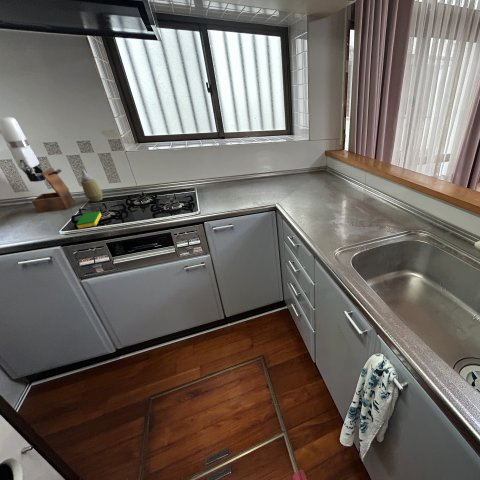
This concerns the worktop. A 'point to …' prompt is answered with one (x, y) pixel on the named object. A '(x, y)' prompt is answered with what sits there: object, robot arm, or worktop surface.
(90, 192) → the squeeze bottle
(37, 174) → the rice dish
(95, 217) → the dish sponge
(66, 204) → the storage box
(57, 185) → the box lid
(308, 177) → the worktop surface
